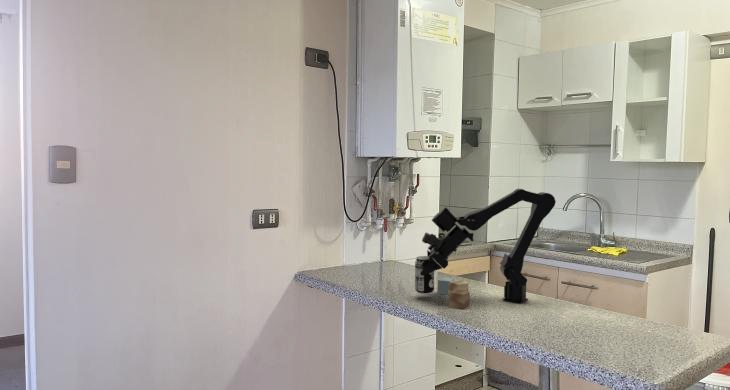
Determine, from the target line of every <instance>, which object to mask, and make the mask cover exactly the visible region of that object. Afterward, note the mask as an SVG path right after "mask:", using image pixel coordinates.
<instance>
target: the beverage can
mask: <svg viewBox="0 0 730 390" xmlns="http://www.w3.org/2000/svg"><path fill="white" fill-rule="evenodd" d="M428 262H429V256H427V255H421V256H416V257H415V261H414V286H415V287H414V290H415V292H416V293H419V294H431V293H433V291H434V290H435V271H433V272H431V273H428V274H426V275H423V276H422V275H421V274H420V273H421V271H422V270H423V268H424V267H425V266H426V264H427V263H428Z"/></svg>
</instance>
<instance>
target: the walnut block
mask: <svg viewBox="0 0 730 390" xmlns="http://www.w3.org/2000/svg"><path fill="white" fill-rule="evenodd" d="M470 292H471V291H469V290H468V291H463V290H456V289H455V290H453V291H451V292H450V295H448V297H449V305H448V307H449V308H452V309H459V310H465V309H467V308H469V307H470V297H471V296H470V295H471V294H470ZM468 306H469V307H468Z"/></svg>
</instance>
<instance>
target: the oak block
mask: <svg viewBox="0 0 730 390" xmlns="http://www.w3.org/2000/svg"><path fill="white" fill-rule="evenodd" d="M469 286H470V285H469V282H466V281H464V280H457V279H456V280H454V281H451V282H448V296H449V295H450V292H451V291H453V290H455V289H456V290H463V291H469Z"/></svg>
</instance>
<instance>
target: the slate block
mask: <svg viewBox="0 0 730 390" xmlns="http://www.w3.org/2000/svg"><path fill="white" fill-rule="evenodd" d="M451 281H455V280H454V278H451V277H439V279H437V294H438V295H448V282H451ZM448 296H449V295H448Z"/></svg>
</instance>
